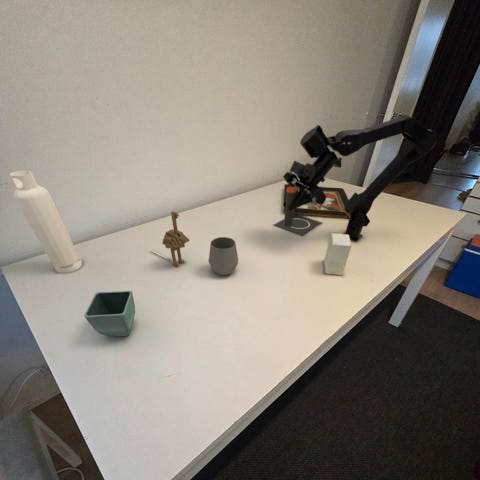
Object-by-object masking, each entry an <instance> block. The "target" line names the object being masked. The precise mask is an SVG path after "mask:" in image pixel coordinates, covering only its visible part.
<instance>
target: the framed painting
mask: <svg viewBox="0 0 480 480" xmlns="http://www.w3.org/2000/svg"><path fill="white" fill-rule="evenodd" d="M283 186H284V188H283V203H284V202H285V199H286V197H287V187H289V185H288V183H284V185H283ZM320 187H321V188H322V190H323V192H324V193H325V195H326V201H325V202H324V203H323V204H322V205H320V204H318V203H317V202H316V197H314V198H313V199H312V201H313V202H312V203H311V202H309V203H307V204H304V205H302V206H300V207H297V208H295V209H294V214H297V215H301V216H303V215H304V216H316V217H329V218H331V217H332V218H343V219H348V218H347V214H346V213H345V205H346V204H347V200H349V197H348V195H347V193H346V191H345V189H344V188H342V187H330V186H329V187H328V186H320ZM285 208H286V207H283V212H284V213H285Z"/></svg>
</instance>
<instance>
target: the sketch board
mask: <svg viewBox="0 0 480 480" xmlns="http://www.w3.org/2000/svg"><path fill="white" fill-rule="evenodd" d="M273 225H274V226H275V227H277V228H280V229H282V230H285V231H289V232H290V233H293V234H296V235H299V236H301V237H302V236H305V235H306V234H308V232H311V231H312V230H313V229H315V228H317V227H318V226H320V225H322V222H321V221H318V220H315V219H312V218H309V217H306V216H303V215H301V214H293V223H292V227H291V228H286V227H284V219H282V220H280V221H278V222H277V223H275V224H273Z"/></svg>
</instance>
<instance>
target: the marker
mask: <svg viewBox="0 0 480 480" xmlns="http://www.w3.org/2000/svg"><path fill="white" fill-rule="evenodd" d="M296 191H297V188H296V187H287V197H286V208H285V212H284V219H283V220H284V227H286V228H291V227H292V223H293V214H294V209H293V210H291V211H289V210H288V208H289V206H290V205H291V203H292V202H293V201H294V200H295V197H296Z"/></svg>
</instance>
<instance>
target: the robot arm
mask: <svg viewBox="0 0 480 480" xmlns="http://www.w3.org/2000/svg"><path fill="white" fill-rule="evenodd" d="M398 135H401V136H402V137H403V138H404V141H403V142H402V144H401V147H400V150H399V151H398V153H397V155H396V156H395V157H394V158H393V159H392V160H391V162H389V163H388V165H387V166H386V167H385V168H384V169H383V170H382V171H381V172H380V173H379V174H378V175H377V177H375V179H374V180H372V182H371V183H370V184H369V185H368V186H367V187H366V188H365V190H363V191H362V192H360V193H358V192H353V194H352V195H351V196H350V198H348V200H347V204H346V205H345V213H346V214H347V218H346V219H348V221H347V224H346V228H345V231H344V233H342V234H346V235H349V238H350V241H352V242H358V241H359V240H360V239H361V238H363V234H361V233H362V232H363V231H362V230H363V228H364V227H368V225H370V223H371V220H370V218H369V217H368V216H367V215H368V213H370V211H371V208H372V206H373V204H374V201H375V200H376V199H377V198H378V197H379V196H380V195H381V194H382V193H383V191H385V190H386V189H387V187H389V185H390V184H391V183H392V182H393V181H394V180H395V179H396V178H397V177H399V175H400V174H401V173H402V172H403V171H404V170H405V169H406V168H407V167H408V166H409V165H410V164H411V163H413V162H415V161H418V160H419V159H421V158H422V157H423V156H425V155H426V154H427V153H429V152H430V151H431V150H432V149H433V148H434V147H435V145H436V144H437V139H438V134H437V132H436V131H435V130H432V129H429V128H427V127H426V126H424V125H423V124H422V123H421V122H419V121H418V120H417V119H416V118H415V116H412V115H409V114H402V115H401V116H399V117H396V118H393V119H390V120H386V121H383V122H381V123H378V124H374V125H370V126H369V127H366V128H359V129H346V130H340V131H338V132H337V133H336V134H335V135H331V136H327V135H326V134H325V133H324V130H323V128H322V127H321V125H320V124H317V125H316V126H315V127H313V128H311V129H310V130H309V131H306V132H305V134H304V135H303V136H302V138H301V140H300V141H299V144H300V146H301V147H302V148H303V149H304V151H305V152H306V154H307V155H308V156H309V158H310V159H315V160H314V161H313V162H312V164H311V163H310V162H307V163H306V164H303V163H301V162H299V161H297V160H294V161H293V163H292V165H291V167H290V169H289V171H286V172H285V174H284V175H283V176H282V178H283V179H284V181H285V182H286V184H288V185H289V187H296V188H297V191H296V197H295V200H294V201H293V202H292V203H291V205H290V206H289V208H288V210H289V211H291V210H293V209H295V208H297V207H300V206H302V205H304V204H307V203H309V202H311V203H312V202H313V201H312V199H313V198H314V197H316V202H317V203H318V204H320V205H322V204H323V203H324V202H325V201H326V195H325V193H324V192H323V190H322V188H321V187H322V186H319V184H320V183H324V182H325V181H326V179H325V177H326V176H327V175H328V174H329V173H330V171H331V170H332V169H333V167H334V168H339V169H341V168H342V160H343V158H342V157H348V156H351V155H352V154H354V153H356V152H358V151H360V150H361V149H362V148H363V147H365V146H367V145H369V144H370V145H371V144H373V143H377V142H379V141H382V140H385V139H388V138H392V137H394V136H398ZM330 149H331V150H332V151H331V150H330ZM336 153H338V154H339V155H340V156H342V157H338V156H337V154H336ZM284 207H286V199H285V202H284V201H283V204H282V208H284Z"/></svg>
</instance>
